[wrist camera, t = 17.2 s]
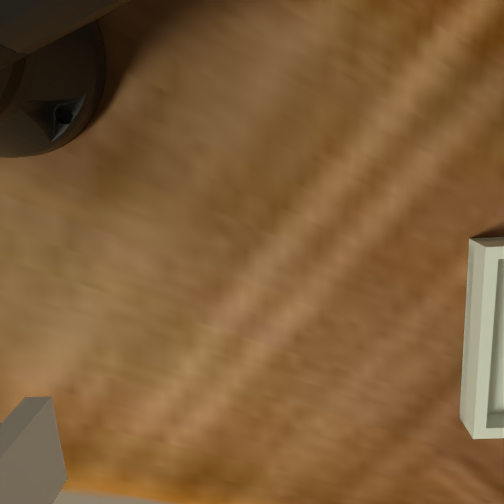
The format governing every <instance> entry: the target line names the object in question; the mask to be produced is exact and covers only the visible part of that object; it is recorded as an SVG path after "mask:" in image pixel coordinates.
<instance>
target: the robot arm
mask: <svg viewBox="0 0 504 504" xmlns="http://www.w3.org/2000/svg"><path fill="white" fill-rule="evenodd" d="M130 1H132V0H0V157H7V158H14V157H27V156H35V155H41V154H45V153H48V152H51V151H53V150H56V149H58V148H60V147H62V146H63V145H65V144H67V143H68V142H70V141H71V140H72V139H73V138H75V137H76V136H77V135H78V134H79V133H80V132H81V131H82V130H83V129H84V128H85V126H86V125H87V124H88V122H89V121H90V119H91V118H92V116H93V114H94V112H95V111H96V108H97V106H98V104H99V101H100V98H101V95H102V91H103V87H104V81H105V69H106V62H105V50H104V44H103V39H102V35H101V32H100V29H99V26H98V23H97V20H96V19H98V18H100V17H102V16H104V15H106V14H107V13H109V12H111V11H113V10H115V9H117V8H119V7H120V6H122V5H124V4H126V3H128V2H130ZM66 480H67V474H66V468H65V463H64V458H63V453H62V448H61V443H60V438H59V432H58V427H57V422H56V417H55V412H54V407H53V402H52V397H25V398H24V399H23V401H22V402H21V403H20V404H19V405H18V406H17V407H16V408H15V409H14V410H13V411H12V412H11V413H10V415H9V416H8V417H7V418H6V419H5V420H4V421H3V422H2V423H1V424H0V504H53V502H54V500H55V499H56V497H57V495H58V494H59V492H60V490H61V489H62V487H63V485H64V483H65V482H66Z"/></svg>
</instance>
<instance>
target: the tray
mask: <svg viewBox="0 0 504 504" xmlns="http://www.w3.org/2000/svg"><path fill="white" fill-rule="evenodd" d="M459 418H460V419H461V421H462V422H463V424H464V426H465V427H466V429H467V430H468V432H469V433H470V435H471V436H472V438H473V439H487V438H504V237H489V238H470V239H469V255H468V273H467V291H466V309H465V327H464V345H463V363H462V381H461V399H460V417H459Z"/></svg>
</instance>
